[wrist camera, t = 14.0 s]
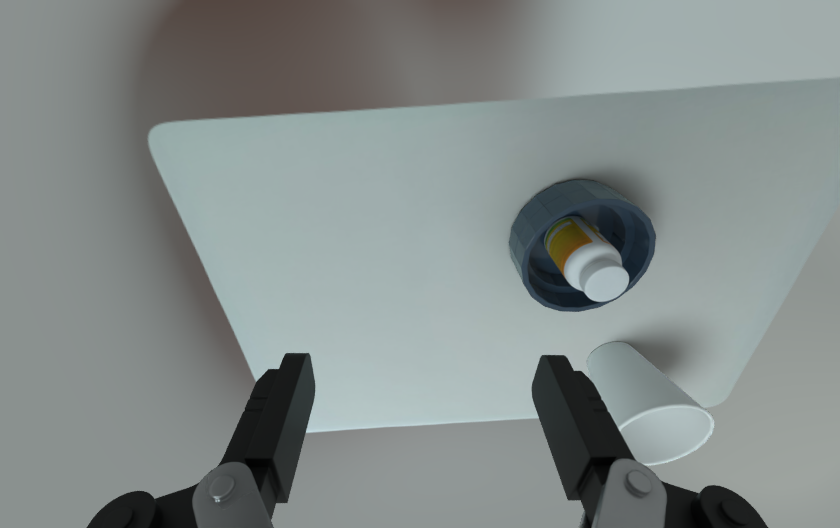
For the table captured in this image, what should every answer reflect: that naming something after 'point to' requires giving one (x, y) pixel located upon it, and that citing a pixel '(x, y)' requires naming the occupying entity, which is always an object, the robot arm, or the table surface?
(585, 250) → the supplement bottle
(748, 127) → the table surface
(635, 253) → the bowl
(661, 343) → the table surface
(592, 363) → the cup
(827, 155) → the table surface
